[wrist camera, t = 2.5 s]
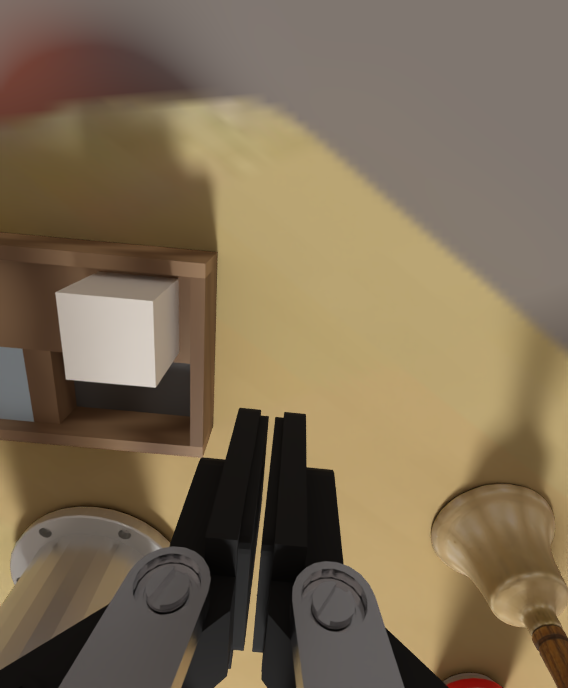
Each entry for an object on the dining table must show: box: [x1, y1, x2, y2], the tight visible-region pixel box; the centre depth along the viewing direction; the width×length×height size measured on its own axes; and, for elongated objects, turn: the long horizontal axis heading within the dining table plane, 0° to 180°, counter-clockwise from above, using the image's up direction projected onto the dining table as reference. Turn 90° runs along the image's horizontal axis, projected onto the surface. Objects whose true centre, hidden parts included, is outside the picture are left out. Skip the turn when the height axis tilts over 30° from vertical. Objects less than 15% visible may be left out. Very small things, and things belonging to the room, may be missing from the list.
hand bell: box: [431, 484, 568, 688], centre depth 22 cm, size 8×8×16 cm
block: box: [55, 272, 179, 388], centre depth 20 cm, size 4×4×4 cm
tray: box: [0, 232, 218, 458], centre depth 23 cm, size 18×11×3 cm, turn 85°
